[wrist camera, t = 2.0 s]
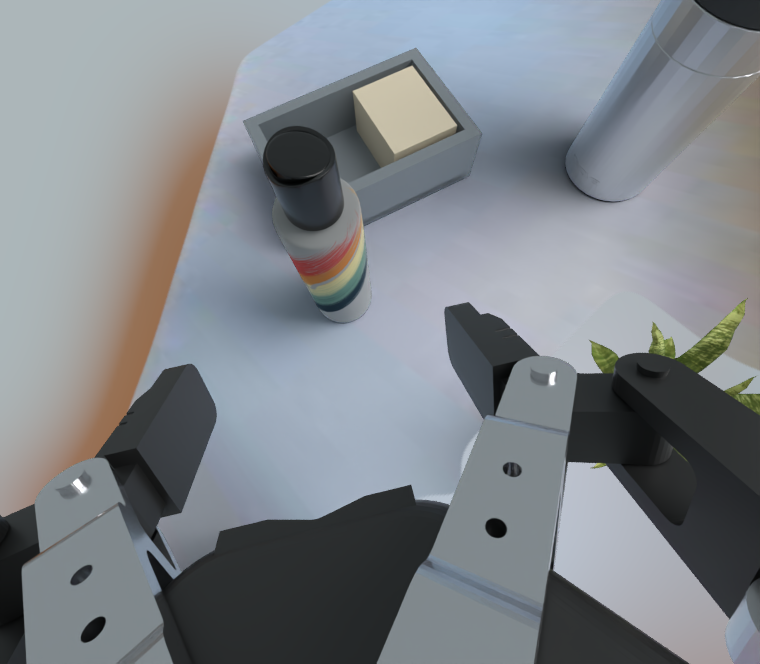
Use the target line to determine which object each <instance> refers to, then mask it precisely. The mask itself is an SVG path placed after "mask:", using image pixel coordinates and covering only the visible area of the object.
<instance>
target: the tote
mask: <svg viewBox="0 0 760 664" xmlns="http://www.w3.org/2000/svg"><path fill="white" fill-rule="evenodd" d="M410 66H413V67H414V69H415V70H416V71H417V73H418V74H419V75H420V77H421V78H422V79H423V81H424V82H425V83H426V85H427V86H428V87H429V89H430V90H431V91H432V92H433V94H434V95H435V96H436V98H437V99H438V100H439V102H440V103H441V104H442V106H443V107H444V108H445V110H446V111H447V112H448V114H449V115H450V116H451V118H452V119H453V120H454V122H455V123H456V124H457V129H456V133H455V134H454V135H452V136H450V137H448V138H445V139H443V140H441V141H439V142H437V143H434V144H432V145H430V146H428V147H426V148H424V149H421V150H419V151H417V152H415V153H413V154H411V155H408V156H406V157H404V158H402V159H400V160H398V161H395V162H393V163H391V164H389V165H387V166H384V167H382V168H381V167H380V166H379V164H378V163H377V161H376V160H375V158H374V157H373V155H372V153H371V152H370V150H369V149H368V147H367V146H366V144H365V143H364V141H363V139H362V138H361V136H360V135H359V133H358V132H357V127H356V118H355V108H354V99H353V91H354V90H356V89H359V88H361V87H363V86H366V85H368V84H370V83H373V82H375V81H377V80H380V79H382V78H384V77H387V76H389V75H391V74H394V73H396V72H398V71H401V70H403V69H405V68H408V67H410ZM243 123H244V125H245V127H246V129H247V131H248V134H249V136H250V138H251V140H252V142H253V144H254V146H255V149H256V151H257V153H258V155H259V157H260V159H261V162H262V164H263V153H264V149H265V146H266V144H267V142H268V140H269V139H270V138H271V137H272V135H273V134H275V133H276V132H277V131H279V130H281V129H283V128H285V127H289V126H304V127H308V128H311V129H313V130H316V131H317V132H319V133H321V134H322V135H323V136H325V137H326V138H327V139H328V140H329V141H330V143H331V144H332V146H333V148H334V150H335V154H336V159H337V164H338V170H339V175H340V178H341V179H342V180H344V181H345V182H347V183H348V184H349V185H350V186H351V187H352V188H353V190H354V191H355V193H356V195H357V197H358V199H359V203H360V207H361V213H362V221H363V226H365V225H367V224H370V223H372V222H374V221H376V220H378V219H380V218H382V217H384V216H386V215H388V214H391V213H393V212H395V211H397V210H399V209H401V208H403V207H405V206H407V205H409V204H411V203H414V202H416V201H418V200H420V199H422V198H424V197H426V196H428V195H430V194H432V193H435V192H437V191H439V190H441V189H443V188H445V187H447V186H449V185H451V184H453V183H456V182H458V181H460V180H462V179H464V178H466V177H468V176H469V175H470V172H471V168H472V165H473V162H474V158H475V155H476V152H477V148H478V145H479V142H480V138H481V135H482V132H481V131H480V130H479V129H478V127H477V126H476V125H475V123H474V122H473V121H472V119H471V118H470V117H469V116H468V114H467V113H466V112H465V110H464V109H463V108H462V107H461V105H460V104H459V103H458V101H457V100H456V99H455V97H454V96H453V95H452V94H451V92H450V91H449V90H448V88H447V87H446V86H445V84H444V83H443V82H442V81H441V79H440V78H439V77H438V75H437V74H436V73H435V71H434V70H433V69H432V68H431V66H430V65H429V64H428V62H427V61H426V60H425V58H424V57H423V56H422V55H421V53H420V52H419V51H418V49H417V48H414V49H412V50H409V51H407V52H405V53H402V54H400V55H398V56H395V57H393V58H391V59H388V60H386V61H383V62H381V63H379V64H376V65H374V66H372V67H369V68H367V69H365V70H362V71H360V72H358V73H355V74H353V75H350V76H348V77H346V78H343V79H341V80H339V81H336V82H334V83H332V84H329V85H327V86H325V87H322V88H320V89H317V90H315V91H313V92H310V93H308V94H306V95H303V96H301V97H299V98H296V99H294V100H291V101H289V102H287V103H284V104H282V105H280V106H277V107H275V108H273V109H270V110H268V111H266V112H263V113H261V114H258V115H256V116H254V117H251V118H249V119H247V120H244V121H243Z"/></svg>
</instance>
